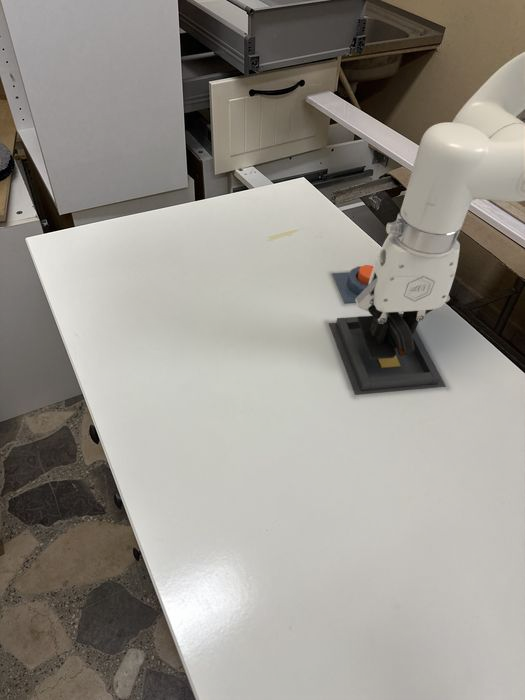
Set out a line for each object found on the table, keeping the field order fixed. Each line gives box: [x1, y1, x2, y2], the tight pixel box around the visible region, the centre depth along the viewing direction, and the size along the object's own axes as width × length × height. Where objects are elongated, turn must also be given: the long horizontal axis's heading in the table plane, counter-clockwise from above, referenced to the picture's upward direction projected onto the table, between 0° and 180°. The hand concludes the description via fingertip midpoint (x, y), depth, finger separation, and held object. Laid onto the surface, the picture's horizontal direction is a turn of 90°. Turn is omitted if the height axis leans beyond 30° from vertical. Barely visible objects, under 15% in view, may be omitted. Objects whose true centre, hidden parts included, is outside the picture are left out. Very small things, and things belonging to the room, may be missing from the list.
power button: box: [357, 264, 374, 285], centre depth 90 cm, size 4×4×2 cm
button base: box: [331, 265, 374, 304], centre depth 91 cm, size 10×8×3 cm
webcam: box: [357, 312, 414, 359], centre depth 76 cm, size 9×6×6 cm
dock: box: [328, 313, 447, 396], centre depth 80 cm, size 14×15×2 cm
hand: (390, 335), depth 78 cm, fingers closed on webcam, 3 cm apart
